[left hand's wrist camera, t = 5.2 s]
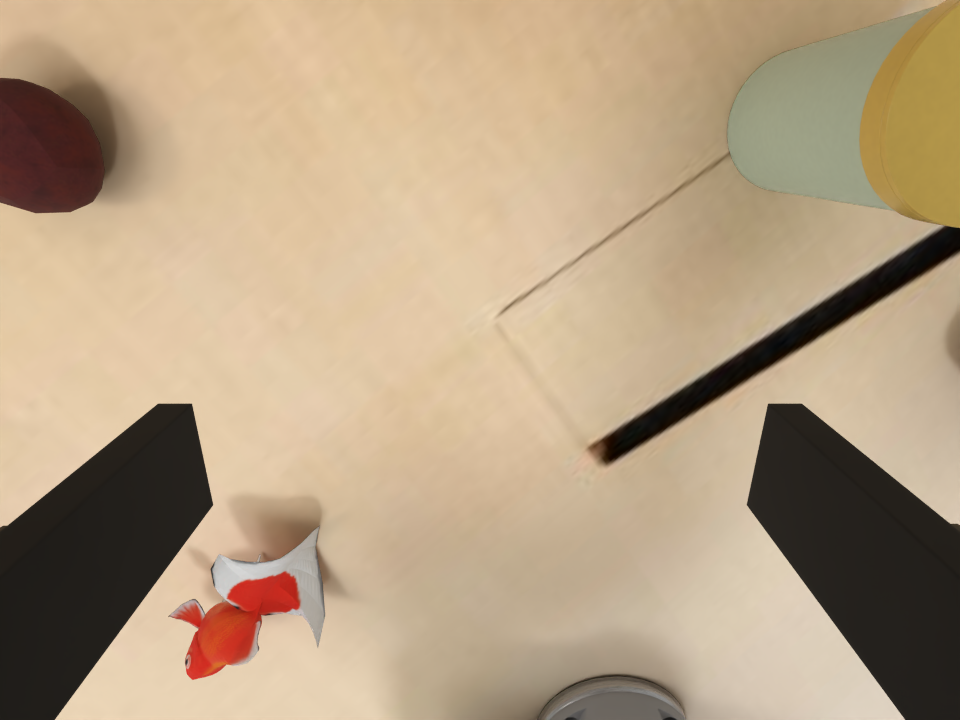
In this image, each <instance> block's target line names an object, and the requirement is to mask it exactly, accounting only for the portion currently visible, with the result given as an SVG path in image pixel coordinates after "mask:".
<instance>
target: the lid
mask: <svg viewBox="0 0 960 720" xmlns="http://www.w3.org/2000/svg"><path fill="white" fill-rule="evenodd" d="M859 144H860V155H861V160H862V165H863V169H864V171H865V174H866V177H867V179H868V181H869V183H870V185H871V186H872V188H873V190H874V191H875V193H876V194H877V195H878V196H879V197H880V199H881V200H882V201H883V202H884V203H885V204H887V205H888V206H889V207H890V208H891V209H893V210H895V211H896V212H898V213H900V214H901V215H904V216H906V217H909V218H911V219H914V220H919V221H923V222H928V223H934V224H939V225H945V226H951V227H960V0H946V1H944V2H943V3H941V4H940V5H938V6H937V7H935V8H933V9H932V10H931V11H930V12H928V13H927V14H926V15H924V16H923V17H922V18H921V19H919V20H918V21H917V22H916V23H915V24H914V25H913V26H912V27H911V28H910V29H909V30H908V31H907V32H906V33H905V34H904V35H903V36H902V38H901V39H900V40H899V41H898V42H897V44H896V45H895V46H894V47H893V48H892V50H891V51H890V53H889V54H888V56H887V57H886V59H885V60H884V62H883V63H882V65H881V67H880V69H879V70H878V72H877V74H876V76H875V78H874V80H873V82H872V85H871V87H870V89H869V92H868V94H867V98H866V101H865V104H864V108H863V112H862V117H861V123H860V136H859Z"/></svg>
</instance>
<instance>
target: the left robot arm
mask: <svg viewBox="0 0 960 720" xmlns="http://www.w3.org/2000/svg"><path fill="white" fill-rule="evenodd" d="M212 506H213V502H212V497H211V492H210V488H209V483H208V478H207V473H206V469H205V464H204V459H203V454H202V450H201V445H200V440H199V435H198V431H197V426H196V421H195V416H194V412H193V407H192V404H157V405H156V406H155V407H154V408H152V409H151V410H150V411H149V412H147V413H146V414H145V415H144V416H143V417H141V418H140V419H139V420H138V421H136V422H135V423H134V424H133V425H131V426H130V427H129V428H128V429H126V430H125V431H124V432H123V433H122V434H120V435H119V436H118V437H117V438H115V439H114V440H113V441H112V442H110V443H109V444H108V445H107V446H105V447H104V448H103V449H102V450H101V451H99V452H98V453H97V454H96V455H94V456H93V457H92V458H91V459H89V460H88V461H87V462H86V463H84V464H83V465H82V466H81V467H80V468H78V469H77V470H76V471H75V472H73V473H72V474H71V475H70V476H68V477H67V478H66V479H65V480H63V481H62V482H61V483H60V484H59V485H57V486H56V487H55V488H54V489H52V490H51V491H50V492H49V493H47V494H46V495H45V496H44V497H42V498H41V499H40V500H39V501H38V502H36V503H35V504H34V505H33V506H31V507H30V508H29V509H28V510H26V511H25V512H24V513H23V514H21V515H20V516H19V517H18V518H17V519H15V520H14V521H13V522H12V523H10V524H9V525H8V526H2V527H0V720H55V719H56V717H57V716H58V715H59V713H60V712H61V710H62V709H63V708H64V706H65V705H66V704H67V702H68V701H69V700H70V698H71V697H72V696H73V694H74V693H75V691H76V690H77V689H78V687H79V686H80V685H81V683H82V682H83V681H84V679H85V678H86V677H87V675H88V674H89V673H90V671H91V670H92V668H93V667H94V666H95V664H96V663H97V662H98V660H99V659H100V658H101V656H102V655H103V654H104V652H105V651H106V649H107V648H108V647H109V645H110V644H111V643H112V641H113V640H114V639H115V637H116V636H117V635H118V633H119V632H120V630H121V629H122V628H123V626H124V625H125V624H126V622H127V621H128V620H129V618H130V617H131V616H132V614H133V613H134V612H135V610H136V609H137V607H138V606H139V605H140V603H141V602H142V601H143V599H144V598H145V597H146V595H147V594H148V593H149V591H150V590H151V588H152V587H153V586H154V584H155V583H156V582H157V580H158V579H159V578H160V576H161V575H162V574H163V572H164V571H165V570H166V568H167V567H168V565H169V564H170V563H171V561H172V560H173V559H174V557H175V556H176V555H177V553H178V552H179V551H180V549H181V548H182V546H183V545H184V544H185V542H186V541H187V540H188V538H189V537H190V536H191V534H192V533H193V532H194V530H195V529H196V527H197V526H198V525H199V523H200V522H201V521H202V519H203V518H204V517H205V515H206V514H207V513H208V511H209V510H210V509H211V507H212ZM747 506H748V507H749V509H750V510H751V511H752V513H753V514H754V515H755V517H756V518H757V519H758V521H759V522H760V523H761V525H762V526H763V527H764V529H765V530H766V532H767V533H768V534H769V536H770V537H771V538H772V540H773V541H774V542H775V544H776V545H777V546H778V548H779V549H780V551H781V552H782V553H783V555H784V556H785V557H786V559H787V560H788V561H789V563H790V564H791V565H792V567H793V568H794V570H795V571H796V572H797V574H798V575H799V576H800V578H801V579H802V580H803V582H804V583H805V584H806V586H807V587H808V588H809V590H810V591H811V593H812V594H813V595H814V597H815V598H816V599H817V601H818V602H819V603H820V605H821V606H822V607H823V609H824V610H825V612H826V613H827V614H828V616H829V617H830V618H831V620H832V621H833V622H834V624H835V625H836V626H837V628H838V629H839V630H840V632H841V633H842V635H843V636H844V637H845V639H846V640H847V641H848V643H849V644H850V645H851V647H852V648H853V649H854V651H855V652H856V654H857V655H858V656H859V658H860V659H861V660H862V662H863V663H864V664H865V666H866V667H867V668H868V670H869V671H870V673H871V674H872V675H873V677H874V678H875V679H876V681H877V682H878V683H879V685H880V686H881V687H882V689H883V690H884V691H885V693H886V694H887V696H888V697H889V698H890V700H891V701H892V702H893V704H894V705H895V706H896V708H897V709H898V710H899V712H900V713H901V715H902V716H903V717H904V719H905V720H960V525H958V524H950V523H948V522H947V521H946V520H945V519H943V518H942V517H941V516H940V515H939V514H937V513H936V512H935V511H934V510H932V509H931V508H930V507H929V506H927V505H926V504H925V503H924V502H922V501H921V500H920V499H919V498H918V497H916V496H915V495H914V494H913V493H911V492H910V491H909V490H908V489H906V488H905V487H904V486H903V485H901V484H900V483H899V482H898V481H897V480H895V479H894V478H893V477H892V476H890V475H889V474H888V473H887V472H885V471H884V470H883V469H882V468H880V467H879V466H878V465H877V464H876V463H874V462H873V461H872V460H871V459H869V458H868V457H867V456H866V455H864V454H863V453H862V452H861V451H859V450H858V449H857V448H856V447H855V446H853V445H852V444H851V443H850V442H848V441H847V440H846V439H845V438H843V437H842V436H841V435H840V434H838V433H837V432H836V431H835V430H834V429H832V428H831V427H830V426H829V425H827V424H826V423H825V422H824V421H822V420H821V419H820V418H819V417H817V416H816V415H815V414H814V413H813V412H811V411H810V410H809V409H808V408H806V407H805V406H804V405H803V404H768V407H767V412H766V416H765V421H764V426H763V431H762V435H761V440H760V445H759V450H758V454H757V459H756V464H755V469H754V473H753V478H752V483H751V488H750V492H749V497H748V502H747ZM538 720H686V718H685V715H684V712H683V710H682V708H681V706H680V704H679V703H678V701H677V700H676V699H675V698H674V696H672V695H671V694H670V693H669V692H668V691H666V690H665V689H663V688H662V687H660V686H658V685H656V684H654V683H651V682H649V681H646V680H642V679H638V678H632V677H620V676H614V677H601V678H596V679H591V680H587V681H584V682H581V683H578V684H576V685H573V686H571V687H569V688H567V689H566V690H564V691H562V692H561V693H559V694H558V695H557V696H555V697H554V698H553V699H552V700H551V701H550V702H549V703H548V704H547V705H546V706H545V708H544V709H543V710H542V712H541V714H540V716H539V718H538Z"/></svg>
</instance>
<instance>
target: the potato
mask: <svg viewBox="0 0 960 720" xmlns="http://www.w3.org/2000/svg"><path fill="white" fill-rule="evenodd" d="M104 170H105V169H104V163H103V158H102V152H101V147H100V143H99V141H98V139H97V137H96V135H95V133H94V131H93V129H92V127H91V125H90V123H89V121H88V119H87V118H86V117H85V116H84V115H83V114H82V113H81V112H80V111H78V110H77V109H76V108H75V107H74V106H73V105H72V104H71V103H69V102H68V101H66V100H65V99H63V98H62V97H60V96H58V95H57V94H55V93H54V92H52V91H51V90H49V89H47V88H44V87H42V86H39V85H36V84H34V83H31V82H27V81H24V80H20V79H9V78H0V203H4V204H7V205H10V206H14V207H17V208H20V209H24V210H27V211H30V212H34V213H57V212H72V211H74V210H76V209H78V208H81V207H83V206H85V205H88V204H90V203H91V202H93V201H94V199H95V198H96V196H97V195H98V193H99V192H100V190H101V189H102V183H103V177H104Z"/></svg>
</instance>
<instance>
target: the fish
mask: <svg viewBox="0 0 960 720" xmlns="http://www.w3.org/2000/svg"><path fill="white" fill-rule="evenodd" d="M319 527H320V526H318V527H317V528H316V529H315V530H314V531H313V532H312V533H311V534H310V535H309V536H308V537H307V538H306V539H305V540H304V541H303V542H302V543H301V544H300V545H298V546H297V547H296V548H294V549H293V550H292V551H290V552H289V553H287V554H286V555H285V556H283V557H282V558H280V559H277V560H272V561H268V562H260V557H261V554H260V555H259V558H258V560H257V562H245V561H238V560H232V559H229V558H227V557H224V556H222V555H220V554H219V555H218V557H217V559H216V561H215V562H214V564H213V566H212V568H211V573H212V578H213V583H214V587H215V588H216V589H217V591H218V592H219V594H220V595H221V596H222V597H223V598H224V599H223V601H222V603H219V604H217V605H215V606H214V607H212V608H211V609H210V610H209V611H208V612H207V613H206V615H205V613H204V611H203V609H202V607H201V605H200V604H199V603H198V601H197V600H196V599H192V600H190V601H188V602H186V603H184V604H182V605H181V606H179V607H178V608H177V609H176V610H175V611H174V612H173V613H172V614H171V615H170V617H173V618H176V619H181V620H183V621H185V622H188V623H190V624H192V625H193V626H195V627H197V628H198V631H197V632H195V635H194V637H193V640H192V643H191V645H190V648H189V650H188V653H187V655H186V659H185V666H186V672H187V675H188V676H189V677H190V678H191V679H192V680H194V679H198V678H203V677H207V676H210V675H213V674H215V673H217V672H218V671H220V670H221V669H222V668H223V667H224V666H225V665H226V664H227V665H233V666H237V665H242V664H245V663H248V662H249V661H250V660H251V659H252V658H253V657H254V656H255V655H256V653H257V652H258V650H259V646H258V643H257V640H258V634H259V630H260V627H261V624H262V619H261V615H273V614H281V613H288V614H293V615H301V616H303V617H304V618H305V619H306V621H307V622H308V623H309V625H310V627H311V629H312V631H313V633H314V636H315V639H316V642H317V647H318V645H319V641H320V636H321V632H322V627H323V623H324V618H325V608H324V595H323V583H322V578H321V573H320V568H319V563H318V557H317V552H316V542H317V536H318V530H319ZM168 617H169V616H168Z"/></svg>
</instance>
